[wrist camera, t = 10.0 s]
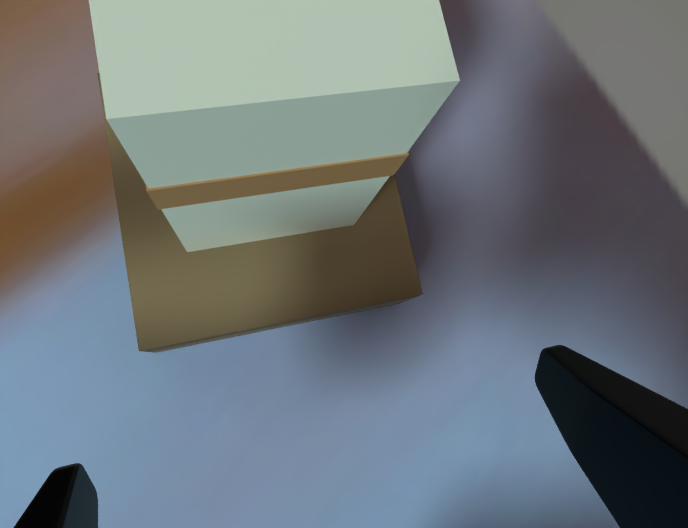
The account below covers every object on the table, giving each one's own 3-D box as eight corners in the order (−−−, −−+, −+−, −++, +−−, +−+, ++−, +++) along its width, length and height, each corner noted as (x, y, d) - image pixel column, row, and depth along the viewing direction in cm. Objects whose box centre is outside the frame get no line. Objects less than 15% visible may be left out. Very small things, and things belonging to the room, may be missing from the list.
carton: (355, 226, 19) (463, 83, 9) (185, 254, 18) (103, 122, 8) (333, 123, 19) (411, -113, 10) (167, 143, 18) (70, -105, 9)
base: (400, 303, 22) (422, 293, 19) (156, 352, 20) (139, 350, 17) (351, 87, 23) (364, 48, 20) (118, 112, 21) (97, 73, 18)
